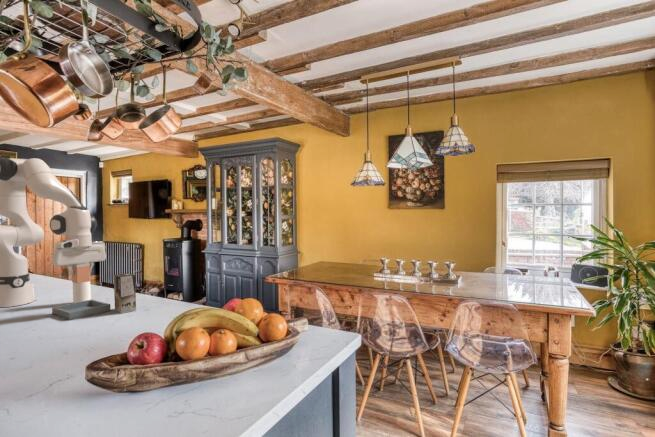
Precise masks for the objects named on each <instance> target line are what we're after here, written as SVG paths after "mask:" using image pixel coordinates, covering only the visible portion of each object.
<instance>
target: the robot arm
mask: <svg viewBox="0 0 655 437" xmlns="http://www.w3.org/2000/svg"><path fill="white" fill-rule="evenodd" d="M27 186H28V188H29V190H30V192H32V193H33V194H34V195H36V196H37V197H39V198H41V199H42V198H43V199H47V200H51V201H53V202H58V203H60V204H62V205H64V206H66V207H67V208H66V210H65V211H63V212H61V213H57V214H55V215H53V216H52V217H51V219H50V221H49V229H50V231H51V232H52V233H53V234H55V235H57V236H66V239H63V240H60V241H58V242H55V243H54V244H53V245H54V246H53V247H54V250H53V251H52V254H51V255H52V256H51V264H52V265H53V267H63V266H66V268H67V270H68V271H69V275H70V276H72V275H75V271H74V270H72V265H73V264H81V263H90V273H92V269H93V267H94V266H95V263H97V262H104V261H106V259H107V254H106V243H105V242H104V241H102V240H99V241H98V240H97V241H93V240H92V233H93V232H94V231H95V230H96V228H97V226H98V223H97V219H96V217H95V216H94V215H93V214H92V213H91V212H90V209H89V208H88V207H86V206H84V204H83V203H82V202H81V201H80V200H79V198H78V197H77V195H75V193H74V192H73V190H72V189H69V187H66V186H65V185H64V184H63V183H62V182H61V181H60V180H59V179H58V178H57V176H56V175H55V173H54V172H53V170H52V169H51V167H50V166H49V165H48V164H47V163H46V162H45V161H44V160H42V159H41V158H37V157H36V158H35V157H33V158H28V159H27V158H15V157H13V158H11V157H10V158H9V157H0V216H2V217H5V218H8V219H9V220H10V222H11V224H0V308H9V307H10V308H11V307H18V306H22V305H26V304H30V303H33V302H35V301H38V300H39V297H37V296H35V289H34V284H33V283H32V282H30V279H31V278H30V277H31V276H30V273H29V264H28V263H29V260H28V258H27V257H26V256H25V255H23V254H20V253H17V252H15V251H14V247H15V248H16V247H26V246H33V245H38V244H40V243H41V242H43V239H44V237H45V231H44V229H43V228H42V226H41V225H39V224H38V223H36V222H35V221H34V220H33V219H32V218H31V217H30V215H29V211H28V206H27V190H26V189H27V188H26V187H27Z"/></svg>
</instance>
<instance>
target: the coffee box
mask: <svg viewBox="0 0 655 437" xmlns="http://www.w3.org/2000/svg"><path fill="white" fill-rule="evenodd" d="M136 286H137V285H136V274H133V273H129V272H126V273H120V274H113V290H114V291H113V292H114V311H116V312H118V313H120V314H125V313H129V312H131V313H132V312H135V311H137V303H136V302H137V298H136V297H137V295H136V290H137V288H136Z"/></svg>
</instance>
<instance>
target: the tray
mask: <svg viewBox="0 0 655 437" xmlns="http://www.w3.org/2000/svg"><path fill="white" fill-rule="evenodd" d="M51 309H52V310H51V312H52V315H54V316H57V317H60V318H62V319H65V320H68V321H72V320H76V319H81V318H84V317H85V318H86V317H89V316H90V317H91V316H94V315H97V314H98V315H99V314H102V313H107V312H110V311H111V303H107V302H103V301H100V300H96V299H91V300H87V301H82V302H77V303H73V302H72V303H68V304H67V303H66V304H63V305H56V306H53V307H51Z"/></svg>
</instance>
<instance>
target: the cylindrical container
mask: <svg viewBox="0 0 655 437" xmlns="http://www.w3.org/2000/svg"><path fill="white" fill-rule="evenodd" d="M91 286H92V284H91V280H90V281H89V282H83V283H73V282H72V301H73V302H72V303H77V302H82V301H87V300H92V290H91Z"/></svg>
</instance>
